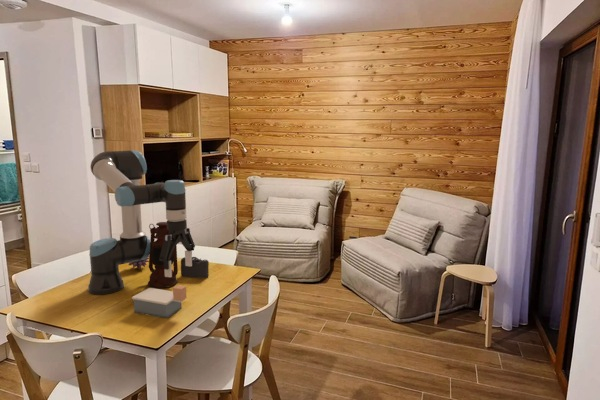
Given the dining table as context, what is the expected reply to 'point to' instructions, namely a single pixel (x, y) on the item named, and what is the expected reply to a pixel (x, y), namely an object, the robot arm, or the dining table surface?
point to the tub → (156, 308)
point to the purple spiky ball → (139, 263)
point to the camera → (195, 268)
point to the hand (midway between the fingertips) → (178, 271)
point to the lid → (162, 295)
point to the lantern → (155, 250)
